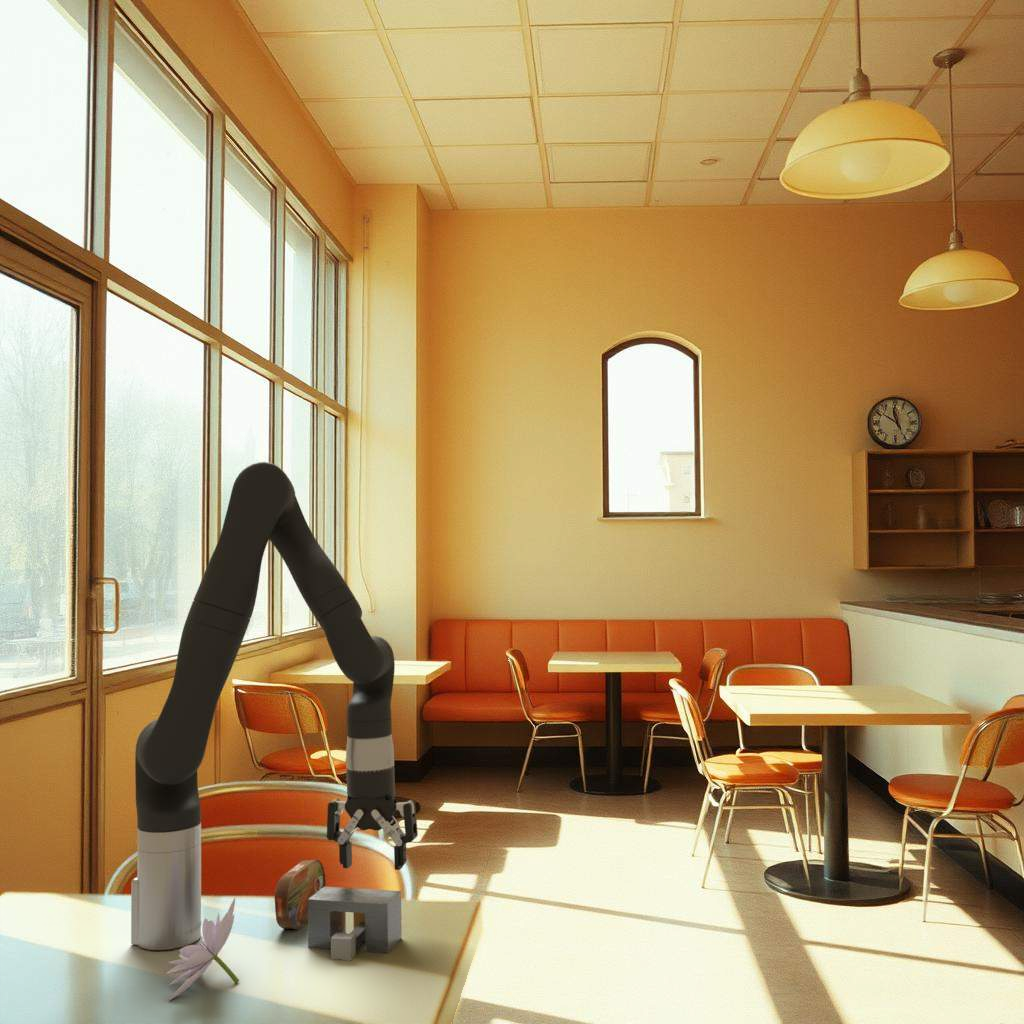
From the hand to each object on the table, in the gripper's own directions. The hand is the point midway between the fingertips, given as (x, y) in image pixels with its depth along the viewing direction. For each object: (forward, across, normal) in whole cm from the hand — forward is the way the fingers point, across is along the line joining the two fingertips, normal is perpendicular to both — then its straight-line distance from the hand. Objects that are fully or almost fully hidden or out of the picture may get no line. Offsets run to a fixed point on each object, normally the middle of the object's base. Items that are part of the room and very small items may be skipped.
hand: (373, 867), depth 158 cm
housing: (+9, 0, +8) cm, 12 cm away
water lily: (+9, +16, +25) cm, 31 cm away
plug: (+9, 0, +6) cm, 11 cm away
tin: (+9, +13, -1) cm, 16 cm away
